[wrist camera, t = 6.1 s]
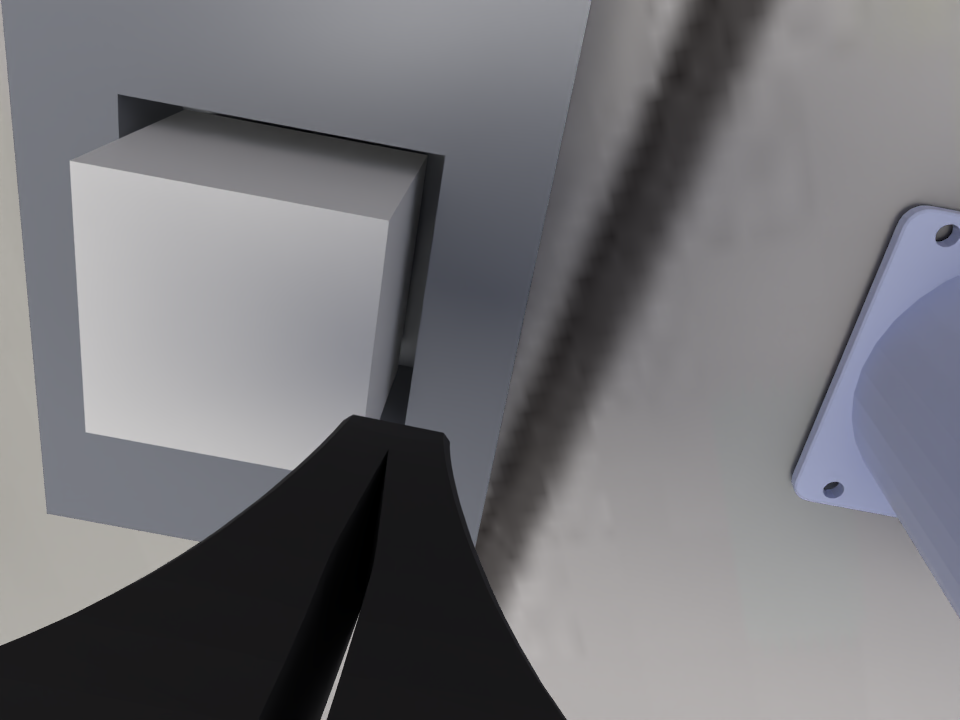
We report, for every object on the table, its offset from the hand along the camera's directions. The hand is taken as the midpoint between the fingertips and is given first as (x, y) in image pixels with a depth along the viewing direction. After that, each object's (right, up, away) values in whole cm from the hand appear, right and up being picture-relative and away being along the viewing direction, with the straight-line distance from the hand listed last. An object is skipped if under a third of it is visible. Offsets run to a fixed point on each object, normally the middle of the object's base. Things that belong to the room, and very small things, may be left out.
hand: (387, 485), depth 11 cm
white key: (-3, +4, +7) cm, 8 cm away
